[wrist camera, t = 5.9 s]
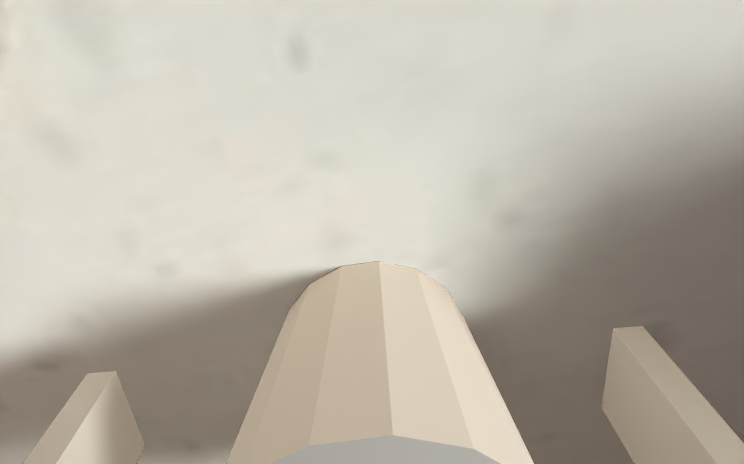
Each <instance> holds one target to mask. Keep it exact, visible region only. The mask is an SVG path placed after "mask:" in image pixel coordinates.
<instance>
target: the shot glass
mask: <svg viewBox="0 0 744 464" xmlns="http://www.w3.org/2000/svg"><path fill="white" fill-rule="evenodd" d="M226 464H534V462H533V460H532V458H531V456H530V454H529V452H528V450H527V448H526V446H525V444H524V442H523V440H522V438H521V436H520V433H519V431H518V429H517V427H516V425H515V423H514V421H513V419H512V417H511V415H510V413H509V411H508V409H507V407H506V404H505V402H504V400H503V398H502V396H501V394H500V392H499V390H498V388H497V386H496V384H495V382H494V380H493V378H492V375H491V373H490V371H489V369H488V367H487V365H486V363H485V361H484V359H483V357H482V355H481V353H480V351H479V349H478V346H477V344H476V342H475V340H474V338H473V336H472V334H471V332H470V330H469V328H468V326H467V324H466V322H465V320H464V317H463V315H462V314H461V312H460V310H459V309H458V307H457V306H456V304H455V303H454V301H453V299H452V298H451V296H450V295H449V293H448V292H447V290H446V288H445V287H443V286H441V285H440V284H438V283H437V282H435V281H434V280H432V279H431V278H429V277H428V276H426V275H425V274H423V273H422V272H420V271H418V270H417V269H414V268H409V267H405V266H400V265H395V264H390V263H386V262H381V261H377V262H370V263H363V264H356V265H349V266H341V267H340V268H338V269H336V270H334V271H332V272H330V273H329V274H327V275H325V276H323V277H321V278H319V279H318V280H316V281H314V282H312V283H310V284H309V285H308V287H307V288H306V289H305V290H304V292H303V293H302V294H301V296H300V297H299V298H298V299H297V301H296V302H295V303H294V304H293V306H292V307H291V308H290V310H289V312H288V314H287V317H286V319H285V322H284V324H283V327H282V329H281V331H280V334H279V336H278V339H277V341H276V344H275V346H274V348H273V351H272V353H271V356H270V358H269V361H268V363H267V365H266V368H265V370H264V373H263V375H262V378H261V380H260V382H259V385H258V387H257V390H256V392H255V395H254V397H253V399H252V402H251V404H250V407H249V409H248V412H247V414H246V416H245V419H244V421H243V424H242V426H241V428H240V431H239V433H238V436H237V438H236V441H235V443H234V445H233V448H232V450H231V453H230V455H229V458H228V460H227V462H226Z"/></svg>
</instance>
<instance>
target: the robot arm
mask: <svg viewBox="0 0 744 464" xmlns="http://www.w3.org/2000/svg"><path fill="white" fill-rule="evenodd" d="M601 408H602V409H603V411H604V413H605V414H606V416H607V418H608V419H609V421H610V423H611V425H612V426H613V428H614V430H615V431H616V433H617V435H618V436H619V438H620V440H621V441H622V443H623V445H624V447H625V448H626V450H627V452H628V453H629V455H630V457H631V458H632V460H633V462H634V463H635V464H744V443H743V442H742V441H741V440H740V438H739V437H738V436H737V435H736V434H735V433H734V431H733V430H732V429H731V428H730V427H729V426H728V424H727V423H726V422H725V421H724V420H723V419H722V417H721V416H720V415H719V414H718V413H717V412H716V410H715V409H714V408H713V407H712V406H711V405H710V404H709V402H708V401H707V400H706V399H705V398H704V397H703V395H702V394H701V393H700V392H699V391H698V390H697V388H696V387H695V386H694V385H693V384H692V383H691V381H690V380H689V379H688V378H687V377H686V376H685V375H684V373H683V372H682V371H681V370H680V369H679V368H678V366H677V365H676V364H675V363H674V362H673V361H672V359H671V358H670V357H669V356H668V355H667V354H666V352H665V351H664V350H663V349H662V348H661V347H660V346H659V344H658V343H657V342H656V341H655V340H654V339H653V337H652V336H651V335H650V334H649V333H648V332H647V330H646V329H645V328H644V327H643V326H634V327H622V328H613V332H612V339H611V346H610V352H609V359H608V366H607V373H606V380H605V386H604V393H603V400H602V407H601ZM144 447H145V444H144V441H143V439H142V436H141V434H140V431H139V428H138V426H137V423H136V421H135V418H134V416H133V413H132V410H131V408H130V405H129V403H128V400H127V398H126V395H125V393H124V390H123V387H122V385H121V382H120V380H119V377H118V375H117V372H116V371H108V372H96V373H87V375H86V376H85V377H84V379H83V380H82V382H81V383H80V384H79V386H78V387H77V388H76V390H75V391H74V393H73V394H72V395H71V397H70V398H69V400H68V401H67V402H66V404H65V405H64V407H63V408H62V409H61V411H60V412H59V414H58V415H57V416H56V418H55V419H54V421H53V422H52V423H51V425H50V426H49V428H48V429H47V430H46V432H45V433H44V434H43V436H42V437H41V439H40V440H39V441H38V443H37V444H36V446H35V447H34V448H33V450H32V451H31V453H30V454H29V455H28V457H27V458H26V460H25V461H24V462H23V464H137V462H138V460H139V457H140V455H141V453H142V451H143V449H144Z"/></svg>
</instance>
